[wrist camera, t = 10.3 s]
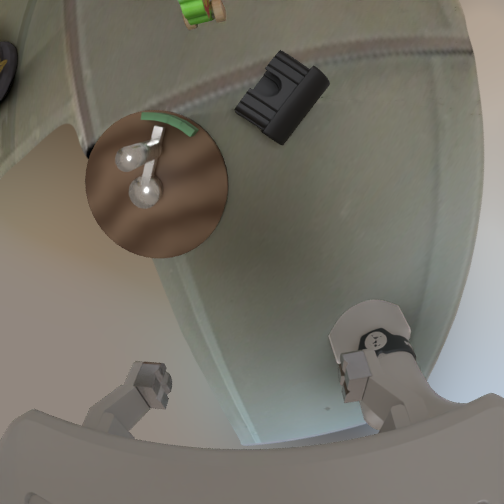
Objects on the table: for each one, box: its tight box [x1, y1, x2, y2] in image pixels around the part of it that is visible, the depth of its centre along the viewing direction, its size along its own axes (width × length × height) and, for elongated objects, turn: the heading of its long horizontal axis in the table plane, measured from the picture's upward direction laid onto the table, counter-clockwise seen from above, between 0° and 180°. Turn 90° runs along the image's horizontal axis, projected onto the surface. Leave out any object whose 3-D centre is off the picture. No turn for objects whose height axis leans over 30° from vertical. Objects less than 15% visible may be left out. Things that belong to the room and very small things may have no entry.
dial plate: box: [85, 110, 228, 258], centre depth 36 cm, size 22×22×4 cm
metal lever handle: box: [115, 125, 166, 209], centre depth 30 cm, size 11×4×10 cm, turn 161°
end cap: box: [235, 50, 330, 145], centre depth 29 cm, size 10×7×7 cm
